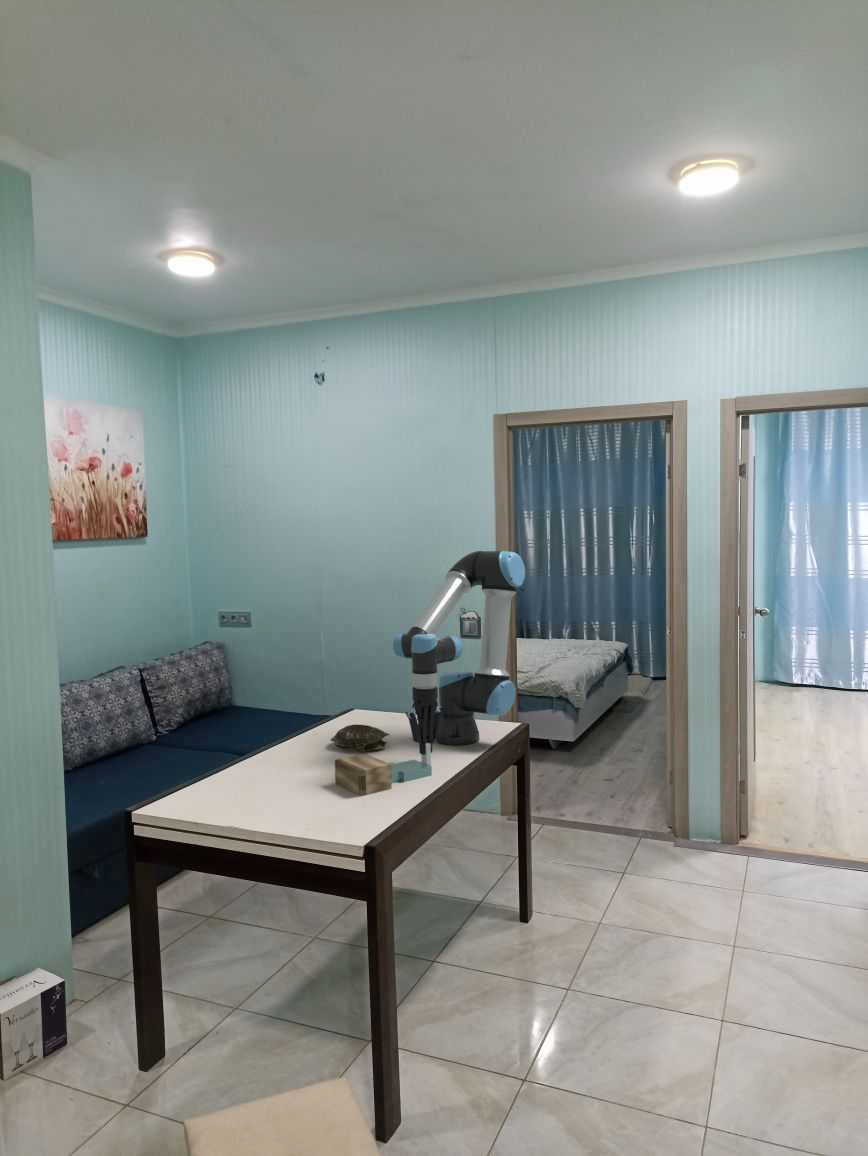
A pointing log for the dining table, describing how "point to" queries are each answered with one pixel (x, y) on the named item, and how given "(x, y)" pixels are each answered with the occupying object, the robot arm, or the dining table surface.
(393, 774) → the teal tabbed plate
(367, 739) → the turtle shell
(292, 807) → the dining table surface
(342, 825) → the dining table surface
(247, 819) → the dining table surface
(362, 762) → the overhang
